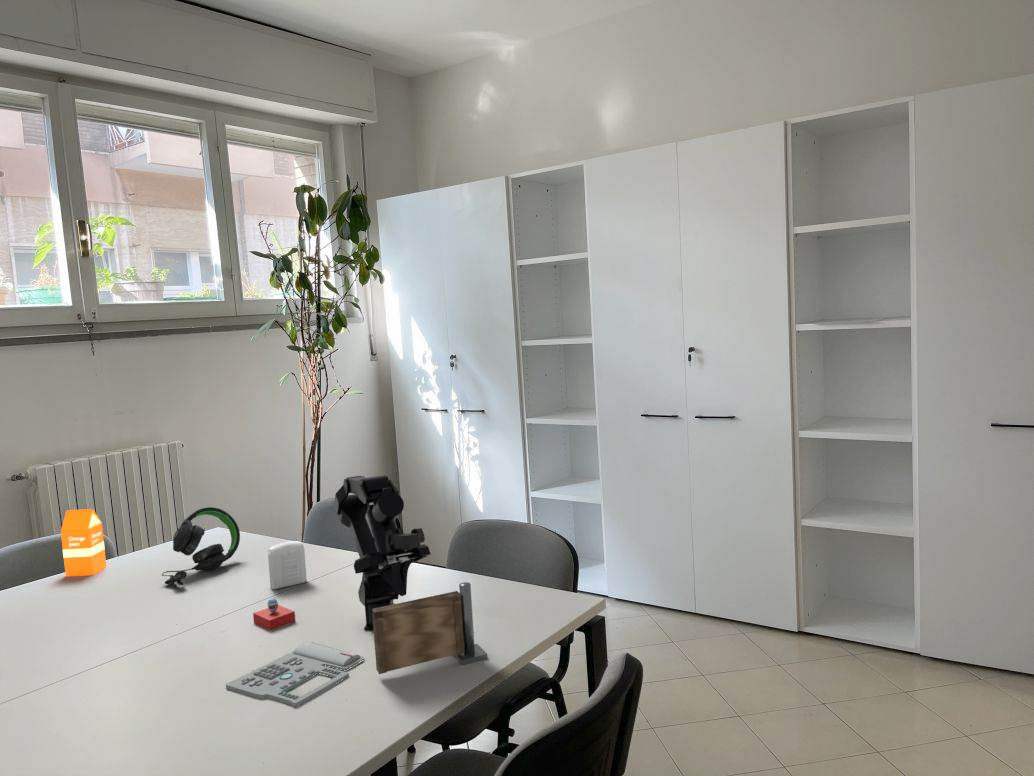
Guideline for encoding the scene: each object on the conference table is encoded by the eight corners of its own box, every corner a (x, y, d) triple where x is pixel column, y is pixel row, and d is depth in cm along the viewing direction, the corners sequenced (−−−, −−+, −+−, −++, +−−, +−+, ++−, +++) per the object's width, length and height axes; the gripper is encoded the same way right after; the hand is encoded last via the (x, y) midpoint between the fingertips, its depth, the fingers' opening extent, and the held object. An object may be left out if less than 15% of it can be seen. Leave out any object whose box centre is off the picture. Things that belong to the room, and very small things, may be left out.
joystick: (295, 622, 191) (293, 597, 190) (270, 631, 186) (268, 606, 185) (278, 615, 196) (276, 591, 195) (254, 624, 191) (251, 599, 190)
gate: (460, 649, 165) (456, 590, 164) (464, 653, 163) (460, 594, 162) (376, 670, 158) (371, 608, 156) (379, 674, 156) (374, 612, 154)
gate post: (477, 647, 169) (472, 577, 167) (487, 658, 163) (483, 585, 162) (451, 654, 166) (446, 582, 165) (461, 664, 161) (456, 591, 160)
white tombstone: (304, 578, 223) (300, 537, 222) (309, 582, 219) (305, 540, 218) (268, 587, 217) (264, 544, 216) (272, 591, 214) (269, 547, 212)
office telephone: (310, 636, 176) (375, 651, 166) (311, 647, 176) (376, 663, 166) (224, 678, 157) (291, 698, 146) (225, 690, 157) (292, 712, 146)
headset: (182, 608, 228) (242, 539, 250) (202, 597, 220) (261, 526, 242) (136, 568, 224) (200, 501, 246) (154, 556, 216) (219, 487, 237)
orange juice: (93, 575, 238) (86, 512, 236) (65, 576, 238) (58, 513, 236) (107, 566, 245) (100, 505, 244) (79, 568, 246) (73, 507, 244)
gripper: (375, 520, 164) (396, 591, 159) (435, 512, 178) (456, 577, 174) (344, 538, 169) (363, 607, 165) (405, 529, 184) (424, 592, 180)
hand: (403, 595), depth 171 cm, fingers closed
